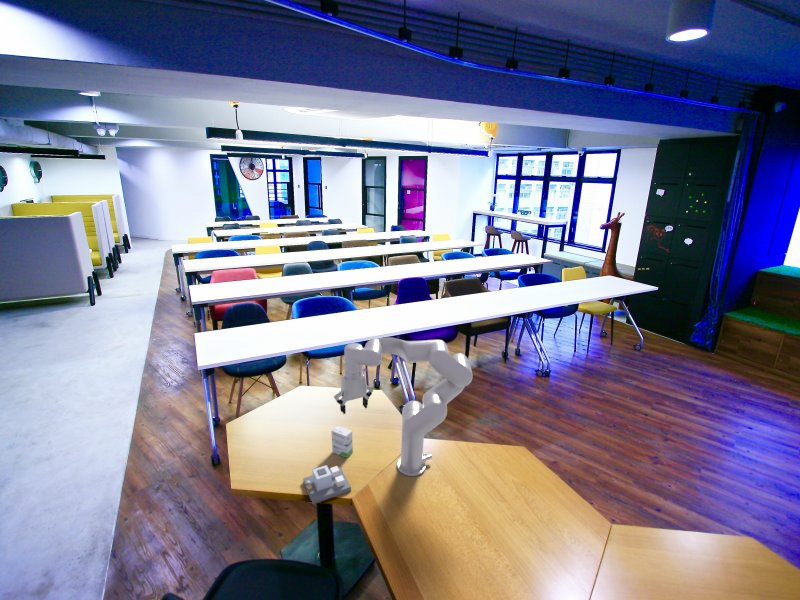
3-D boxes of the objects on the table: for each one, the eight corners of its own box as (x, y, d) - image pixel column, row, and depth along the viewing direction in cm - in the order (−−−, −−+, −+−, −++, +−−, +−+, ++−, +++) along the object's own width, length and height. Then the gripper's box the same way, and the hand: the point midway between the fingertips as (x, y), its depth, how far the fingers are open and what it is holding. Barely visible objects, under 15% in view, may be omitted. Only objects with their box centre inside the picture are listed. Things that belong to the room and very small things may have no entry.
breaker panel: (340, 470, 178) (339, 461, 177) (351, 490, 167) (351, 481, 166) (303, 482, 171) (303, 473, 169) (312, 504, 160) (312, 495, 158)
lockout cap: (327, 476, 171) (326, 464, 169) (331, 486, 166) (331, 473, 164) (313, 481, 169) (312, 469, 167) (317, 491, 164) (316, 478, 162)
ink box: (353, 452, 189) (353, 430, 185) (347, 458, 185) (346, 436, 181) (338, 446, 193) (337, 424, 189) (331, 452, 189) (331, 430, 185)
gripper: (369, 365, 174) (369, 400, 180) (330, 373, 166) (331, 409, 172) (377, 372, 168) (376, 409, 173) (336, 382, 160) (337, 419, 165)
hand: (354, 409), depth 173 cm, fingers open, 9 cm apart
